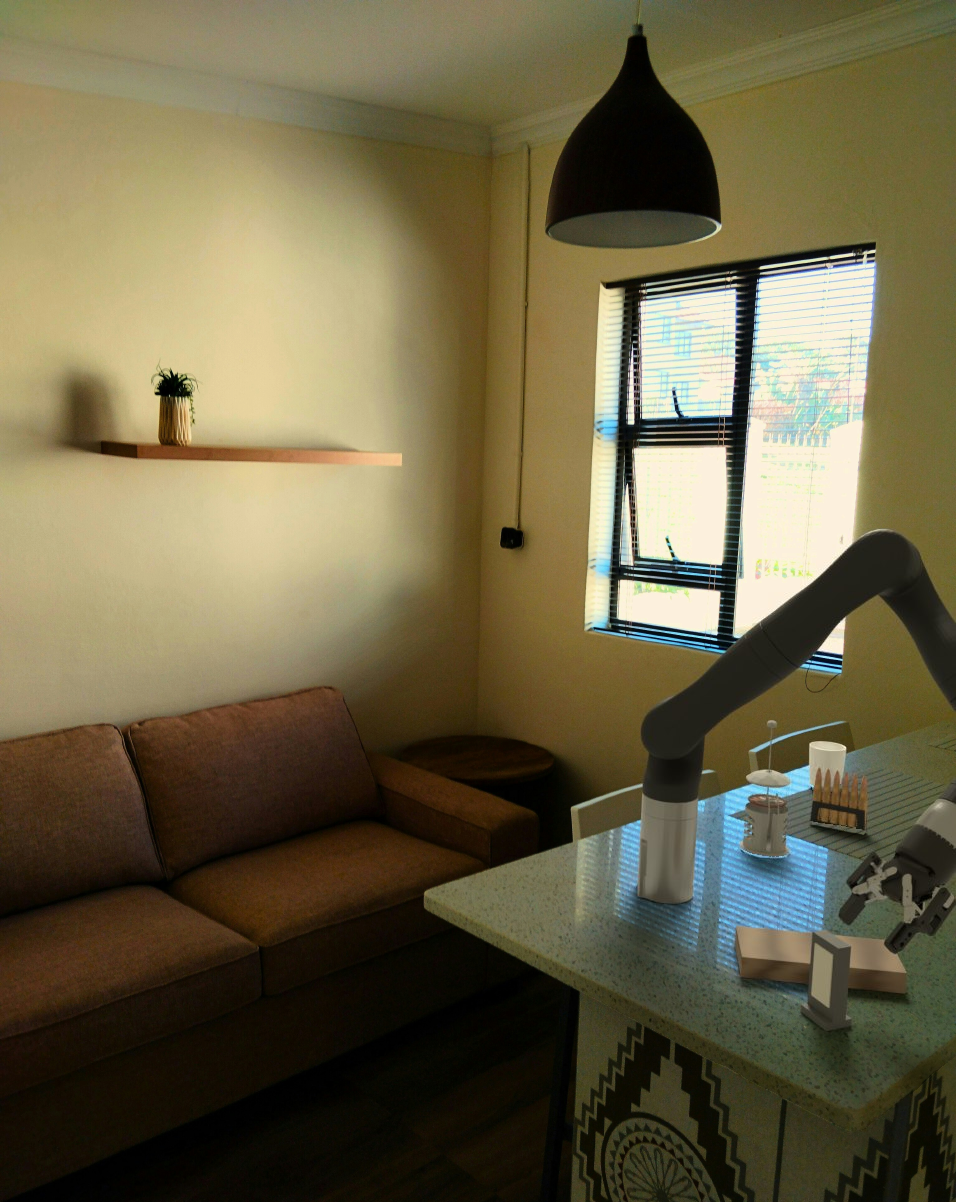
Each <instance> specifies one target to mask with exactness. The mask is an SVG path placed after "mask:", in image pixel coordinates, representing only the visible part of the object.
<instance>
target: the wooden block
mask: <svg viewBox="0 0 956 1202" xmlns="http://www.w3.org/2000/svg"><path fill="white" fill-rule="evenodd" d="M833 935H834V936H836V937H837V938H839V939H840V940H842V941H844V942H845V943H847V944H848V945H850V946H851V956H850V969H849V982H848V989H855V990H865V991H875V992H886V993H896V994H906V990H907V989H906V987H907V977H908V972H907V971H906V969H905V966H904V964H903V962H902V961H901V959H900V957H899V955H898V953H897V954H893V953H892V952H890V951H889V950H888V949H887V948H886V947H885V945H884V941H885V940H886V939H880V938H871V937H870V938H869V937H860V936H859V937H858V936H846V935H838V934H837V935H836V934H833ZM811 946H812V932H808V931H807V932H805V931H793V930H785V929H783V930H782V929H775V928H761V927H750V926H742V925H741V926H740V925H736V926H735V935H734V947H735V953H736V958H737V959H736V960H737V965H738V970H739V974H740V977H741V978H746V979H747V978H748V979H755V980H756V979H757V980H764V981H777V982H785V983H786V982H787V983H795V984H796V983H797V984H807V985H809V974H810V960H811Z"/></svg>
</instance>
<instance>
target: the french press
mask: <svg viewBox="0 0 956 1202" xmlns="http://www.w3.org/2000/svg"><path fill="white" fill-rule="evenodd" d="M766 728H770V740H769V741H770V742H769V758H768V769H760V770H754V771H752V772H751V773H749V774H747V775H746V777H745V778H746V781H747V782H748V783H750V784H752V785H754V786H758V787H762V788H767V790H766V793H754V794H750V795H749V796H747V800H748V801H749V802H747V803H746V804H745V808H744V823H743V825H744V826H743V827H745V828H747V829H745V828H743V833H744V834H746V835H743V838H742V839H743V840H741V841H740V842H739V843H740V847H741V848H742V849H743V850H745V851H747V852H749V853H752V854H757V855H762V856H769V857H771V856H772V857H775V856H776V857H779V856H784V855H787V854H789V853H790V852H789V849H790V848H789V847H788V846H787V836H788V835H787V834H788V833H787V831H788V822H789V821H788V816H789V808H788V807H787V806H786V805H787V804H788V801H787V800H786V799H785V798H784V797H781V796H779V794H778V793H775V795H774V794H769V790H770V789H774V788H775V789H776V788H778V789H780V788H785V787H787V786H789V785H790V784H791V783H792V780H791V779H790V778H789V777H787V776H786V775H785V774H783V773H781V772H779V771H776V770H773V769H771V758H772V757H771V756H772V742H773V741H772V739H773V729H775V728H778V723H777V721H775V720H773V719H772V720H768V721H767V723H766ZM769 788H770V789H769ZM745 814H746V815H748V816H746V815H745ZM745 821H747V822H748V823H747V822H745Z"/></svg>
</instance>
